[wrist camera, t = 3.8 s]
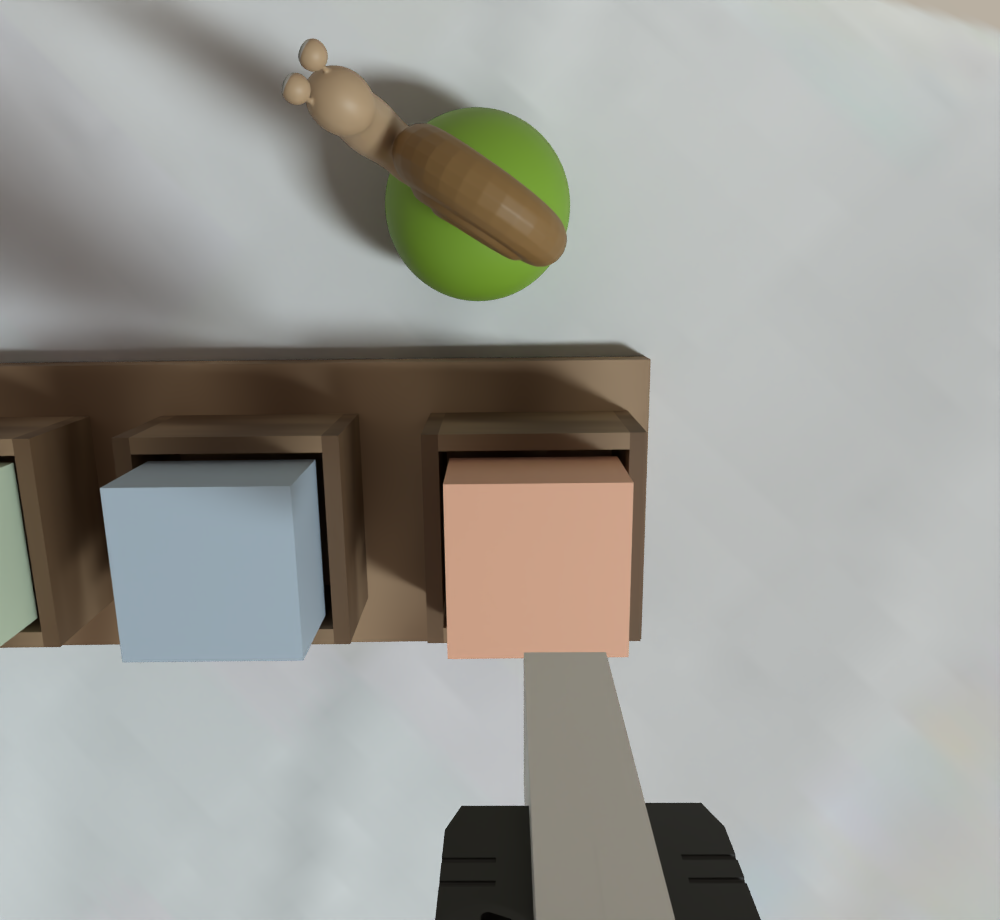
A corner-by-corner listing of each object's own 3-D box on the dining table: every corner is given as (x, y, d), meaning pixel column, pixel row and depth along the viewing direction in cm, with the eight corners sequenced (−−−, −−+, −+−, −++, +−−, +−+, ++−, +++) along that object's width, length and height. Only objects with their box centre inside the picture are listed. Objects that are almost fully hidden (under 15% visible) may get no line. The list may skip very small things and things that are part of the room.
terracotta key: (453, 613, 25) (447, 659, 22) (449, 457, 24) (443, 484, 21) (613, 611, 25) (628, 656, 22) (617, 455, 24) (633, 482, 21)
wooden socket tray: (-66, 634, 30) (-165, 698, 25) (-117, 364, 28) (-235, 383, 23) (636, 626, 30) (660, 690, 26) (645, 356, 28) (673, 374, 23)
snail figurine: (422, 73, 26) (359, -88, 14) (593, 183, 26) (670, 118, 15) (340, 226, 27) (218, 196, 15) (507, 327, 27) (515, 374, 16)
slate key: (165, 616, 25) (122, 662, 22) (147, 461, 24) (99, 487, 21) (325, 614, 25) (303, 660, 22) (315, 459, 24) (290, 485, 21)
